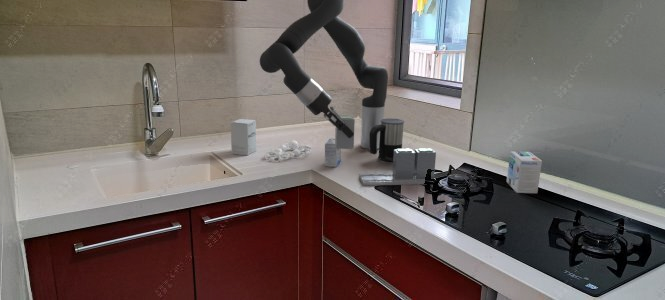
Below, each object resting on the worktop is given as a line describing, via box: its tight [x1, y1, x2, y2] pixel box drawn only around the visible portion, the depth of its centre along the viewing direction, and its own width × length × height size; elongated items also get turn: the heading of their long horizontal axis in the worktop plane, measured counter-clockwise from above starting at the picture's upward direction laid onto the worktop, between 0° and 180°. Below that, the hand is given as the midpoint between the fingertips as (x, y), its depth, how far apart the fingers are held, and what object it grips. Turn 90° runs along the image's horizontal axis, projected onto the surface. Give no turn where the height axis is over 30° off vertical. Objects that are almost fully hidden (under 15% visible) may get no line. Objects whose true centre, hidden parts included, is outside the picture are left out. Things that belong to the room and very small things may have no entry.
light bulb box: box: [506, 150, 543, 194], centre depth 152 cm, size 11×7×11 cm, turn 178°
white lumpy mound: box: [263, 140, 312, 163], centre depth 183 cm, size 19×14×4 cm
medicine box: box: [324, 138, 342, 168], centre depth 174 cm, size 8×4×9 cm, turn 168°
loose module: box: [334, 116, 356, 150], centre depth 151 cm, size 4×6×10 cm, turn 96°
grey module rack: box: [358, 148, 437, 187], centre depth 157 cm, size 8×24×11 cm, turn 97°
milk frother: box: [369, 118, 405, 162], centre depth 177 cm, size 14×16×15 cm
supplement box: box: [230, 118, 257, 156], centre depth 186 cm, size 7×7×13 cm
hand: (350, 134), depth 152 cm, fingers closed on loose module, 3 cm apart
